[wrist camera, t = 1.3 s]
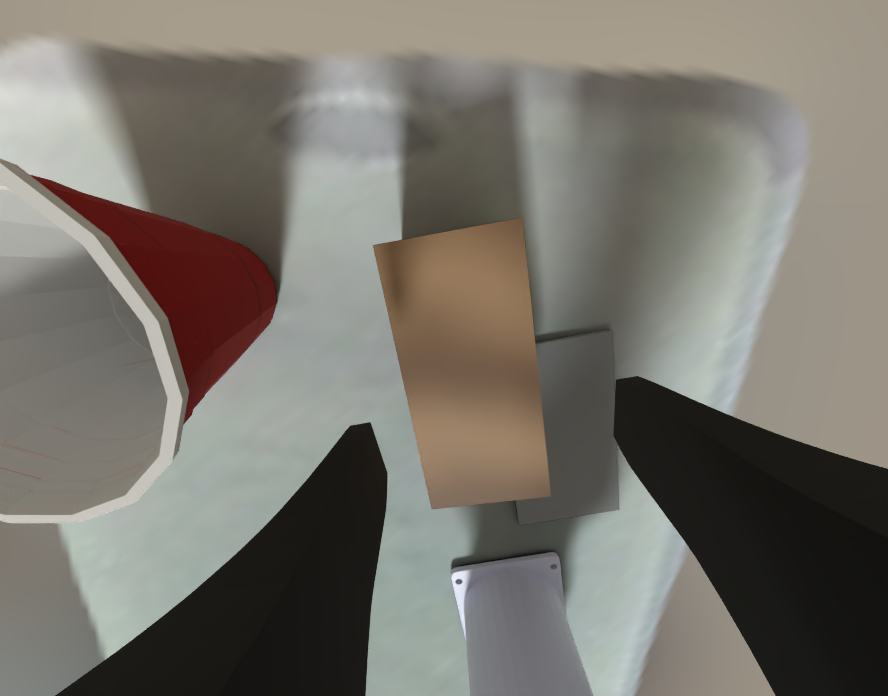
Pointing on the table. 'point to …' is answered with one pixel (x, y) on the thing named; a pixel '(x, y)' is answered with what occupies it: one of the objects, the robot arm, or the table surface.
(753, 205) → the table surface
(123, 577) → the table surface
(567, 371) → the felt mat
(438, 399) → the wooden block
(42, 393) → the plastic cup
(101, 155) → the table surface
